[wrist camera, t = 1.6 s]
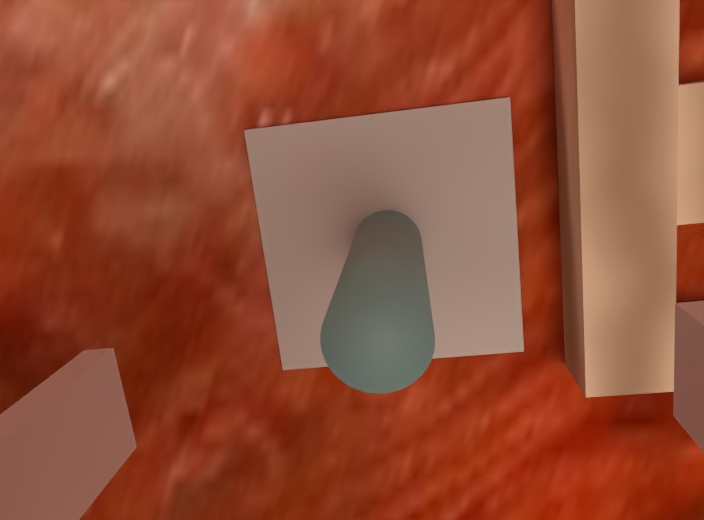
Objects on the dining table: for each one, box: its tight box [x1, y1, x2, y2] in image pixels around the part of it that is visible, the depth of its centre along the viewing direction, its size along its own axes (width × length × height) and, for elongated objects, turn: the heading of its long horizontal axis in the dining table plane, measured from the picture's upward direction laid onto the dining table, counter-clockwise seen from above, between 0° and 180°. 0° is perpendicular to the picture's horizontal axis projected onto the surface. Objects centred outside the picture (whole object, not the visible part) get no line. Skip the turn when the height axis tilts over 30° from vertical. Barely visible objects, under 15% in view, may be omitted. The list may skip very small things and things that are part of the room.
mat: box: [244, 97, 524, 370], centre depth 28 cm, size 12×12×1 cm
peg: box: [320, 210, 435, 394], centre depth 22 cm, size 3×3×12 cm
